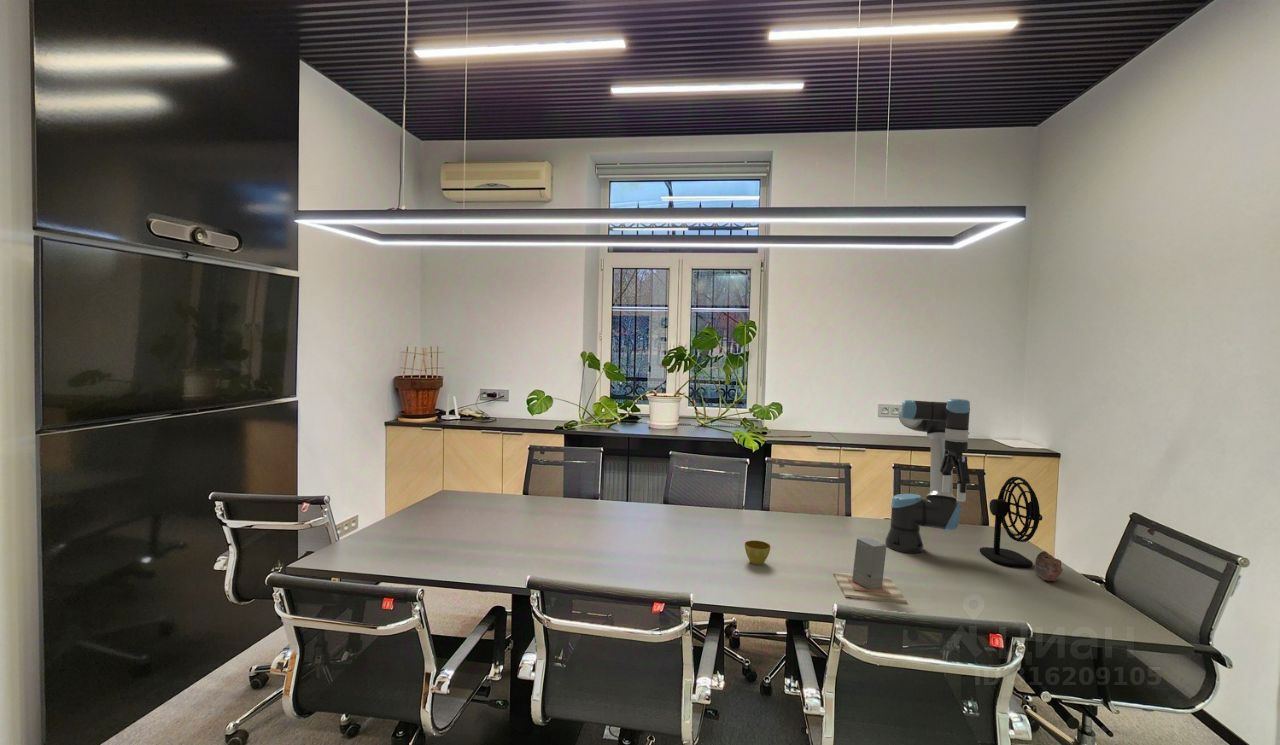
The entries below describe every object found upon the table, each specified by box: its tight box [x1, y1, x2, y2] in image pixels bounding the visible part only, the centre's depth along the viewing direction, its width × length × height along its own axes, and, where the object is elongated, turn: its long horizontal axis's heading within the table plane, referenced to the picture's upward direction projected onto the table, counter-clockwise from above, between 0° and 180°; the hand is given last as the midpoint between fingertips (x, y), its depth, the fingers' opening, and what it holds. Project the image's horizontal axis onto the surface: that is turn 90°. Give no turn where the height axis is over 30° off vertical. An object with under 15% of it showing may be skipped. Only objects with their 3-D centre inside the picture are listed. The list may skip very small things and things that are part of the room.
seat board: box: [832, 571, 907, 604], centre depth 199 cm, size 20×20×1 cm
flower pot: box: [744, 540, 772, 566], centre depth 220 cm, size 10×10×7 cm
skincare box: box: [852, 537, 888, 590], centre depth 198 cm, size 8×7×16 cm
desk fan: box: [979, 476, 1043, 568], centre depth 233 cm, size 27×18×35 cm, turn 173°
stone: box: [1034, 550, 1064, 582], centre depth 213 cm, size 13×8×10 cm
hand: (953, 496), depth 208 cm, fingers open, 13 cm apart
